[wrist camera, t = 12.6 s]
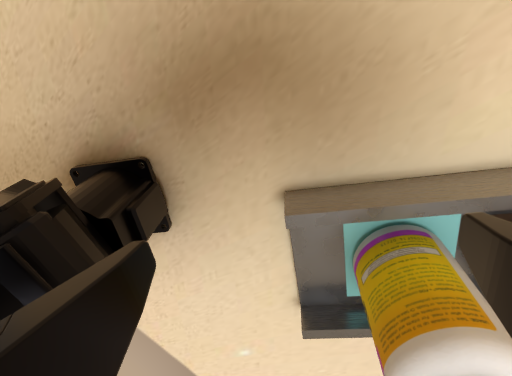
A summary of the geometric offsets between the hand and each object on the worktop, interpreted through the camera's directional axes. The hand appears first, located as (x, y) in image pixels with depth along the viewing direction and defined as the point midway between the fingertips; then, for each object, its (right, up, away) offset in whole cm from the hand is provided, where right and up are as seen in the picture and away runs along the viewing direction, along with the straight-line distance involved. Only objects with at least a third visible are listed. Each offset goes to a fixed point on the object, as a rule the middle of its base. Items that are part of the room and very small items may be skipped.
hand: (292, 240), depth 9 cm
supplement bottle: (+10, -4, +14) cm, 18 cm away
